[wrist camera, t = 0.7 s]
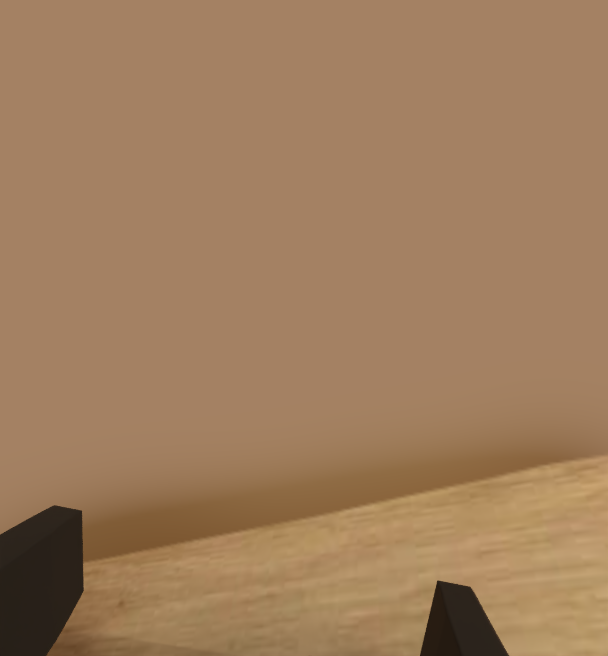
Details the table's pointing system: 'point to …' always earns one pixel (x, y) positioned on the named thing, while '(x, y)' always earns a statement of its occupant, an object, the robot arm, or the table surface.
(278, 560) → the table surface
